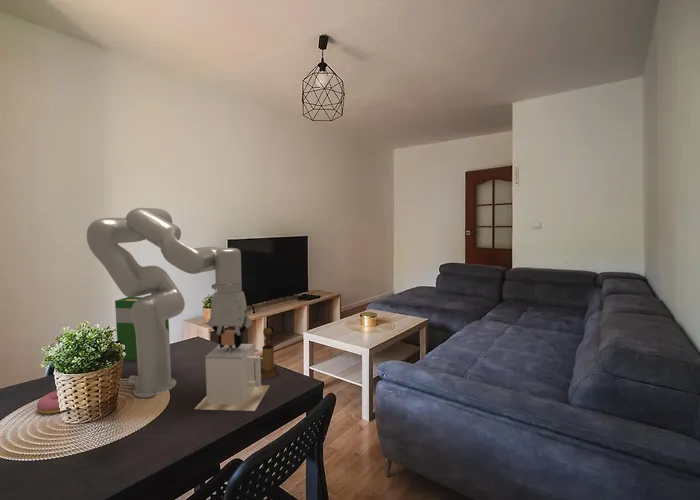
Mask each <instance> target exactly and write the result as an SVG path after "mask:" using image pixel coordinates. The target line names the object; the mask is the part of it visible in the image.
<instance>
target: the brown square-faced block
mask: <svg viewBox="0 0 700 500" xmlns="http://www.w3.org/2000/svg"><path fill="white" fill-rule="evenodd" d="M235 335H236V330H235V329H226V330H224V332H223V333H222V334H221V344H222V345H229V351H233V345H235Z"/></svg>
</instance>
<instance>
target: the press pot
mask: <svg viewBox="0 0 700 500" xmlns="http://www.w3.org/2000/svg"><path fill="white" fill-rule="evenodd" d="M261 365H262V364H261V356H259V355H258V356H257V355H255V345H254V343H242V344H241V345H240V346H239V347H238V348H235V345H233V351H229V345H225V346H224V347H222V348H220V344H219V343H218V345H217V346H216V347H215V348H213V349H212V350H211V351H210V352H209V353H207V354H206V355H205V382H206V383H205V384H206V386H205V388H206V396H207V404H222V405H243V404H244V403H245V401H246V400H247V399H248V397H249V396H250V394H251V393H252V391H253V390H254V388H255V387H260V386H261V385H262V378H261V369H262V366H261Z"/></svg>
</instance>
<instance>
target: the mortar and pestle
mask: <svg viewBox="0 0 700 500" xmlns="http://www.w3.org/2000/svg"><path fill="white" fill-rule="evenodd" d="M272 333H273V331H272V328H271V327H264V329H263V335H264V337H265V338H264V339H265V340H264V345H263V346H262V348H261V349H262V367H261V379H271V378H275V377H277V376H278V372H279V371H278V368H276V367H275V364H274V363H275V359H274V354H275V353H274V351H275V350H274V346H273V345H272V343H271V342H272V340H271V338H270V337H271V335H272Z"/></svg>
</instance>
